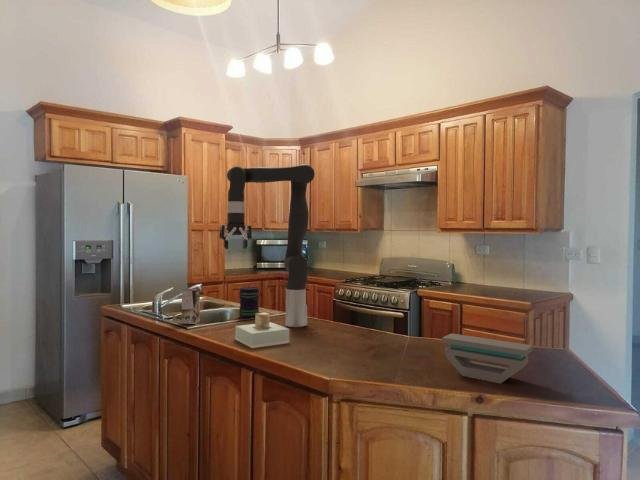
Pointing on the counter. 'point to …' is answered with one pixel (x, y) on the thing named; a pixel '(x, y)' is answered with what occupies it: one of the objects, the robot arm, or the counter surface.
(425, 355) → the counter surface
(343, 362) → the counter surface
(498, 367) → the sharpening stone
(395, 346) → the counter surface
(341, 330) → the counter surface
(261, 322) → the peg
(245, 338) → the socket block
